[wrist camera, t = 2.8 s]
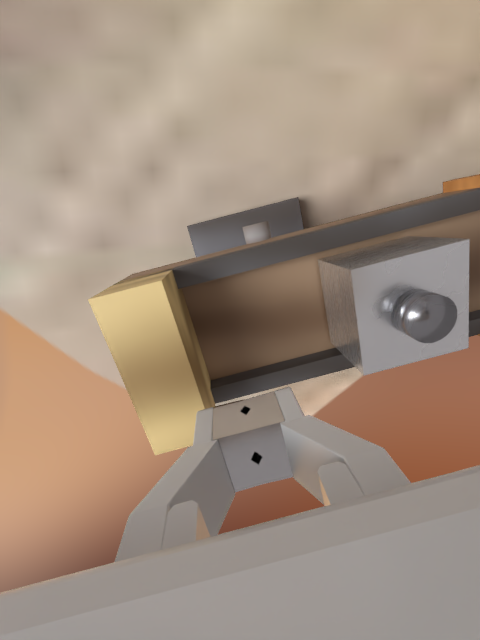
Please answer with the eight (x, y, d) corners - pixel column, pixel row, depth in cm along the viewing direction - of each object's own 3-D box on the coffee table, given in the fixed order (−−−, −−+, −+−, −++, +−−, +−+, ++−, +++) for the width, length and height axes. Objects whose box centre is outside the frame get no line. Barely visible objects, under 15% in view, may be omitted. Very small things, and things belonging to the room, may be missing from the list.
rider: (317, 259, 16) (365, 274, 11) (407, 235, 16) (496, 240, 11) (330, 342, 17) (377, 389, 12) (412, 321, 17) (491, 359, 12)
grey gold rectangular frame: (148, 236, 24) (66, 249, 11) (438, 161, 24) (709, 81, 11) (190, 362, 28) (168, 485, 15) (441, 296, 28) (645, 360, 15)
